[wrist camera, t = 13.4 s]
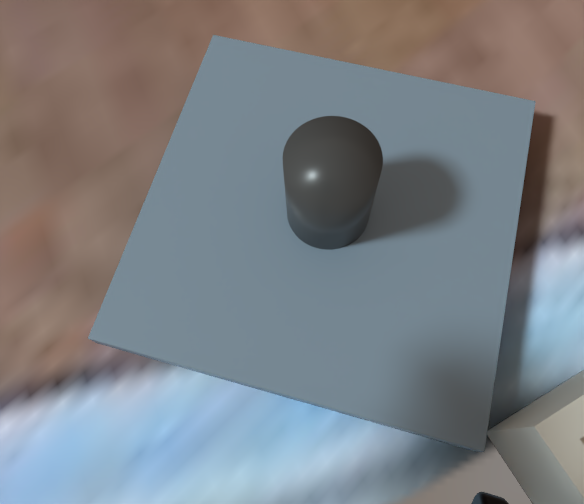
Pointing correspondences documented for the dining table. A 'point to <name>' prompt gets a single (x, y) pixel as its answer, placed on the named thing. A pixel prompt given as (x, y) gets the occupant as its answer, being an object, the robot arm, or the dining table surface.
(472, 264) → the lid
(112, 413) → the dining table surface
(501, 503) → the robot arm
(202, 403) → the dining table surface
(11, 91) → the dining table surface
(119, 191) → the dining table surface
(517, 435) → the box
